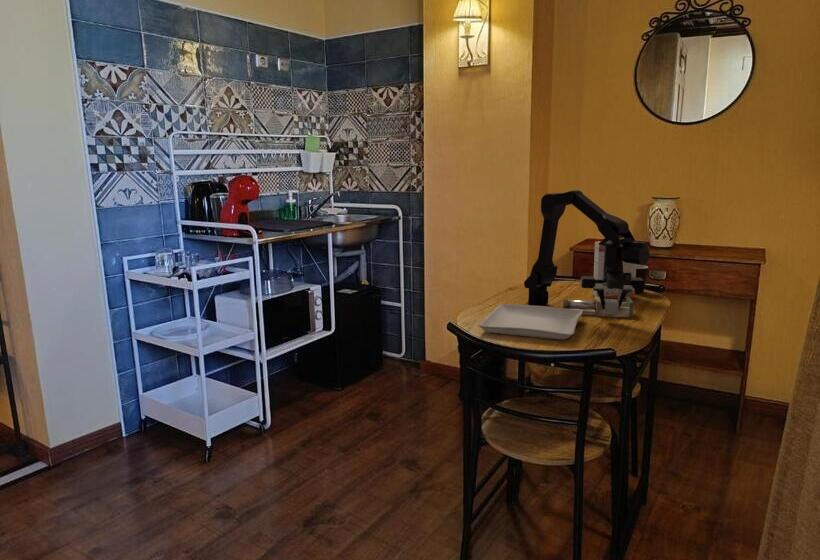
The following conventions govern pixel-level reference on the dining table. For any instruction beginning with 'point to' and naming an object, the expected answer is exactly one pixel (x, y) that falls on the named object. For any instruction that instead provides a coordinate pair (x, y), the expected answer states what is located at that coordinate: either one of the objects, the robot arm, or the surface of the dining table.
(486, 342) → the dining table surface
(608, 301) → the block
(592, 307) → the shaft
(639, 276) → the coffee mug
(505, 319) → the square plate
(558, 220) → the robot arm
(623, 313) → the bearing bed
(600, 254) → the cracker box
